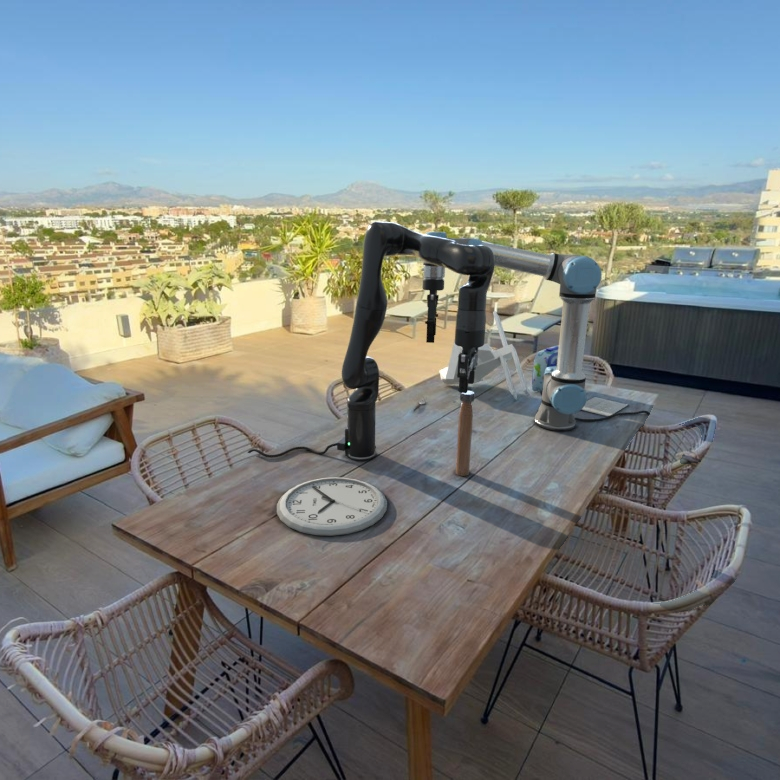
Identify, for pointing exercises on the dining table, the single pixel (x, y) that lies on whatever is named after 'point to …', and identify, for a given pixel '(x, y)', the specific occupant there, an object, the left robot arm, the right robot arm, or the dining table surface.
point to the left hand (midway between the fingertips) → (466, 387)
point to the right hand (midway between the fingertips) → (431, 338)
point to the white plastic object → (487, 362)
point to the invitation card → (603, 406)
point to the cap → (467, 396)
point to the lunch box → (543, 366)
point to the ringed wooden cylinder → (464, 439)
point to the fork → (420, 403)
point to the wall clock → (331, 506)
